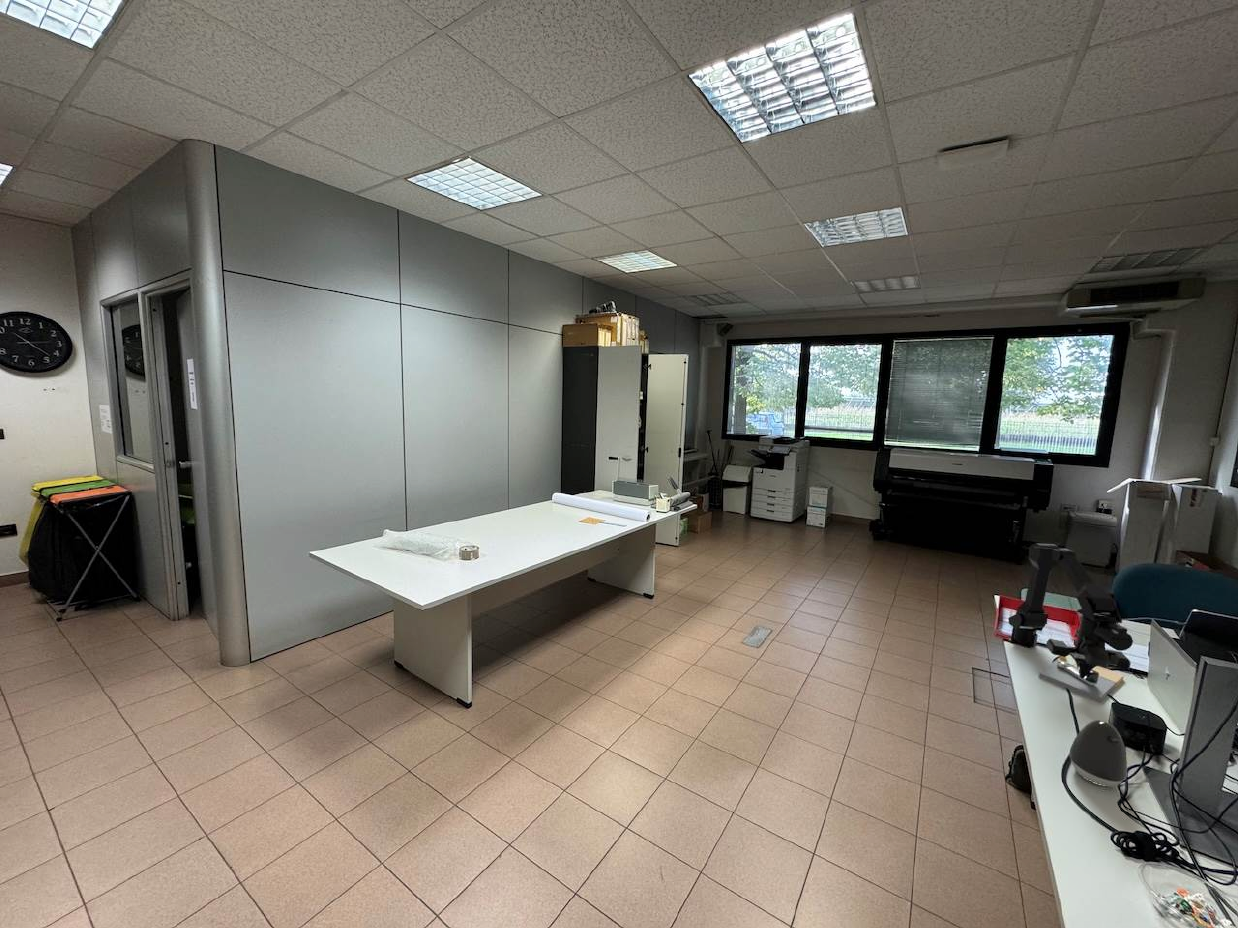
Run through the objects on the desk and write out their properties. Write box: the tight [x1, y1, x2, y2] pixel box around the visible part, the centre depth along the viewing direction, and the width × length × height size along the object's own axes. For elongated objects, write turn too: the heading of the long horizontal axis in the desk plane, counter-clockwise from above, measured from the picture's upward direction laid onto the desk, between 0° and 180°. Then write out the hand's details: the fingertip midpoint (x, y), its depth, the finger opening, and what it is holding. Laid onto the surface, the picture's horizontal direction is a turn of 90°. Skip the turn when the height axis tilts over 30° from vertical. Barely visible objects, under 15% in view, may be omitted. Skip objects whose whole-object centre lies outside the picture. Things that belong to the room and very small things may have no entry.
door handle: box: [1057, 661, 1099, 685], centre depth 161 cm, size 12×3×4 cm, turn 5°
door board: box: [1038, 654, 1125, 703], centre depth 162 cm, size 15×22×4 cm
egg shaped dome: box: [1069, 720, 1128, 788], centre depth 121 cm, size 10×10×15 cm
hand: (1081, 677), depth 157 cm, fingers closed
